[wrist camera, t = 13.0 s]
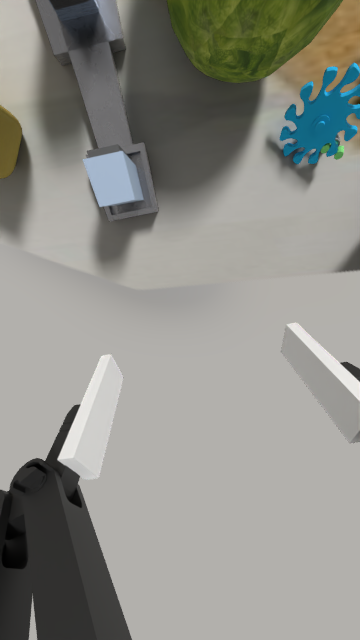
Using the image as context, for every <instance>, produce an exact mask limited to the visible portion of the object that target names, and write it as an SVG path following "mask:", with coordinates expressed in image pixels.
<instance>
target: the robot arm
mask: <svg viewBox="0 0 360 640" xmlns="http://www.w3.org/2000/svg"><path fill="white" fill-rule="evenodd" d="M281 352H282V354H283V355H284V356H285V358H286V359H287V361H288V362H289V363H290V364H291V366H292V367H293V368H294V370H295V371H296V373H297V374H298V375H299V377H300V378H301V379H302V381H303V382H304V383H305V385H306V386H307V387H308V389H309V390H310V391H311V393H312V394H313V395H314V397H315V398H316V399H317V400H318V402H319V403H320V405H321V406H322V407H323V408H324V410H325V411H326V413H327V414H328V415H329V417H330V418H331V419H332V421H333V422H334V423H335V424H336V426H337V427H338V429H339V430H340V431H341V433H342V434H343V435H344V437H345V438H346V439H347V441H348V442H349V443H355V442H360V369H359V368H357V367H355V366H353V365H352V364H350V363H348V362H343V363H339V362H338V361H337V360H336V359H335V358H334V357H333V356H332V355H331V354H330V353H328V352H327V351H326V350H325V349H324V348H323V347H322V346H321V345H320V344H319V343H318V342H317V341H316V340H315V339H313V337H312V336H310V335H309V334H308V333H307V332H306V331H305V330H304V329H303V328H302V327H301V326H300V325H299V324H298V323H292V324H286V328H285V333H284V338H283V344H282V349H281ZM122 382H123V376H122V374H121V372H120V370H119V368H118V366H117V364H116V363H115V360H114V359H113V357H112V355H111V354H109V355H104V356H101V358H100V360H99V363H98V365H97V368H96V370H95V372H94V375H93V377H92V380H91V382H90V384H89V386H88V389H87V391H86V393H85V396H84V398H83V400H82V403H81V404H80V405H75V406H74V407H72V409H71V410H70V411H69V413H68V414H67V416H66V418H65V420H64V422H63V425H62V426H61V428H60V432H59V433H58V435H57V437H56V439H55V441H54V443H53V446H52V448H51V450H50V452H49V454H48V456H47V458H46V460H45V461H43V460H42V459H39V458H36V459H32V460H30V461H29V462H27V463H26V464H25V465H24V466H22V467H21V468H20V469H19V471H18V472H17V473H16V475H15V476H14V478H13V480H12V482H11V484H10V490H9V491H7V492H6V491H3V490H0V640H28V639H29V628H30V616H31V604H32V593H33V601H34V611H35V621H36V630H37V640H132V639H131V636H130V633H129V630H128V627H127V624H126V621H125V618H124V615H123V612H122V609H121V607H120V603H119V600H118V598H117V594H116V592H115V589H114V586H113V583H112V580H111V577H110V574H109V571H108V568H107V565H106V562H105V559H104V556H103V553H102V550H101V548H100V545H99V542H98V539H97V536H96V533H95V530H94V527H93V524H92V521H91V518H90V515H89V512H88V509H87V506H86V504H85V501H84V498H83V495H82V492H81V489H80V486H79V485H78V481H79V478H80V477H82V478H83V479H84V480H88V479H95V478H99V475H100V471H101V466H102V463H103V459H104V455H105V450H106V446H107V442H108V438H109V434H110V430H111V426H112V422H113V417H114V414H115V410H116V406H117V401H118V398H119V394H120V390H121V386H122Z"/></svg>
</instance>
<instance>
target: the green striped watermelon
mask: <svg viewBox="0 0 360 640" xmlns="http://www.w3.org/2000/svg"><path fill="white" fill-rule="evenodd" d="M342 1H343V0H167V4H168V9H169V14H170V19H171V24H172V28H173V30H174V32H175V34H176V36H177V38H178V40H179V42H180V44H181V46H182V48H183V50H184V52H185V53H186V55H187V57H188V58H189V60H190V61H191V62H192V64H193V65H194V67H196V68H197V69H198V70H200V71H201V72H202V73H204V74H205V75H207V76H209V77H212V78H215V79H217V80H220V81H225V82H233V83H243V82H252V81H256V80H259V79H261V78H264V77H267V76H269V75H271V74H272V73H273V72H274V71H276V70H277V69H278V68H279V67H281V66H282V65H283V64H285V63H286V62H287V61H288V60H290V59H291V58H292V57H293V56H295V55H296V54H297V53H298V52H300V51H301V50H302V49H303V48H304V47H306V46H307V45H308V44H309V43H311V41H312V40H313V39H314V37H315V36H316V35H317V34H318V32H319V31H320V30H321V29H322V27H323V26H324V25H325V23H326V22H327V21H328V20H329V18H330V17H331V16H332V14H333V13H334V12H335V11H336V9H337V8H338V7H339V5H340V4H341V2H342Z"/></svg>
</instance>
